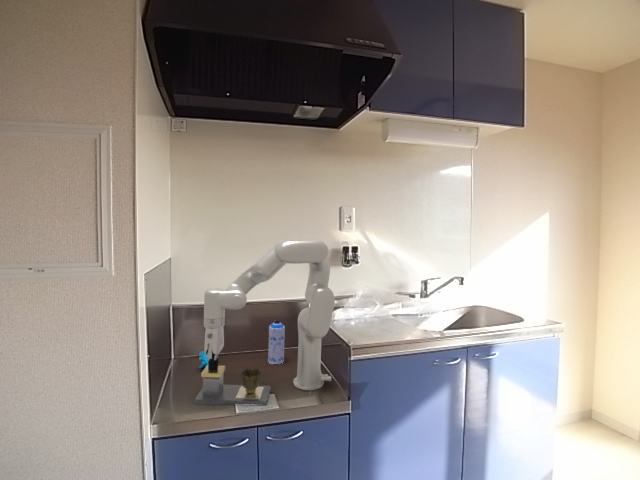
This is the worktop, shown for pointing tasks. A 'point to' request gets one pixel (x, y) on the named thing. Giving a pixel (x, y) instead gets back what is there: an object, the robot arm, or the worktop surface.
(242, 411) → the worktop surface
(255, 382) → the dark brown rounded piece
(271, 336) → the aerosol can
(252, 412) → the worktop surface
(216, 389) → the base
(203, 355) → the gear
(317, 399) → the worktop surface
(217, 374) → the plate
